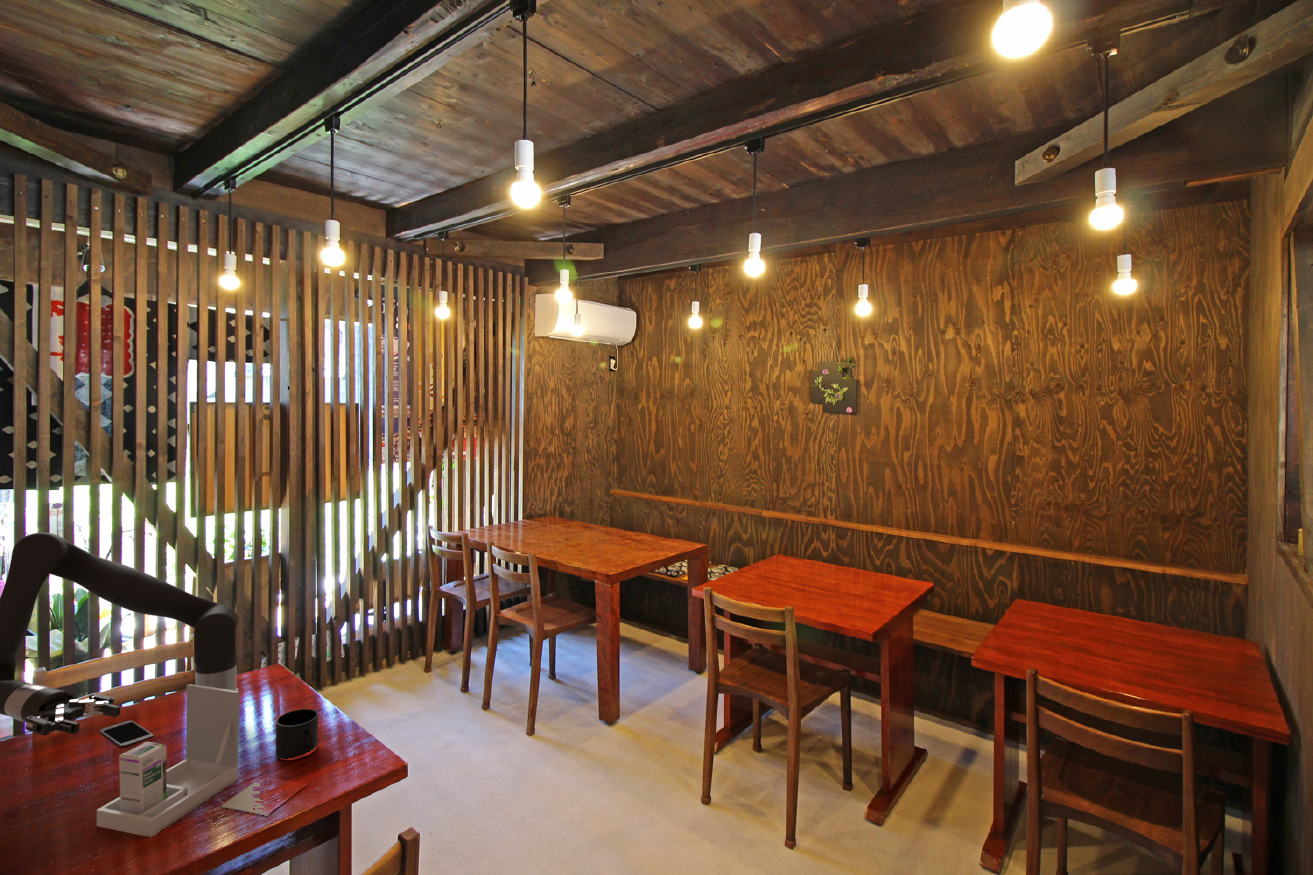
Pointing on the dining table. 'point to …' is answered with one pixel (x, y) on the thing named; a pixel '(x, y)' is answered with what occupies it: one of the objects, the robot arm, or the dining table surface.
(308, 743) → the mug
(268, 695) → the dining table surface
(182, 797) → the white l-shaped holder
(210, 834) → the dining table surface
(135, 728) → the smartphone
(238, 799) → the rubber mat
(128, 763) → the syrup box
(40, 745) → the dining table surface
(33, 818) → the dining table surface
